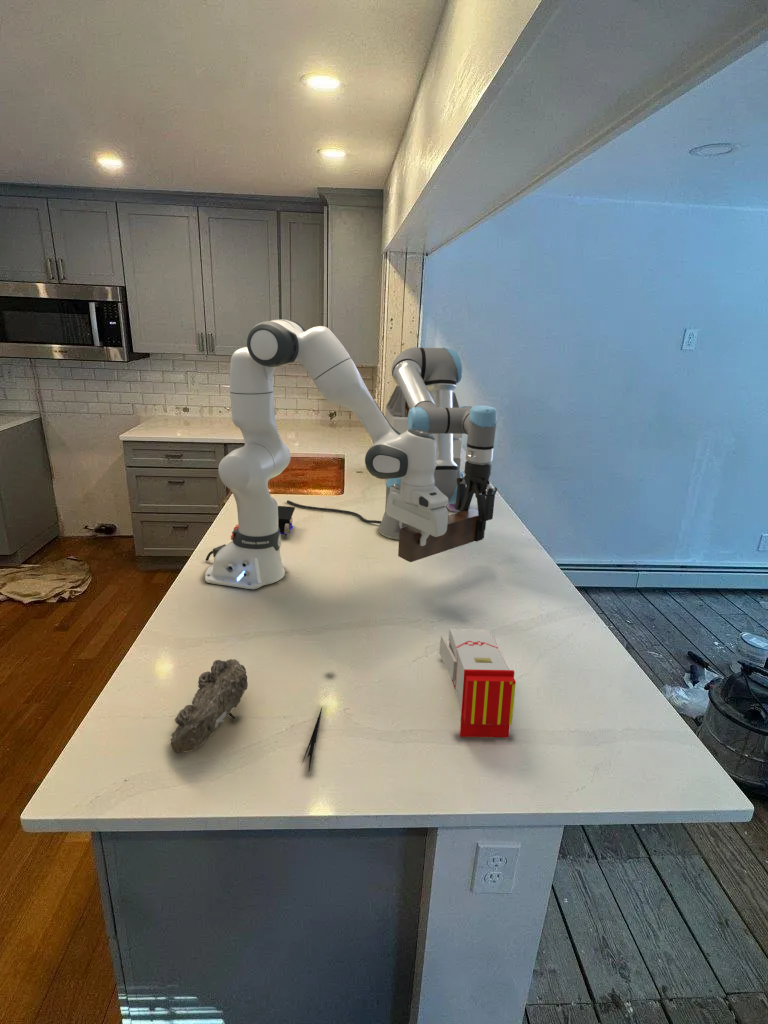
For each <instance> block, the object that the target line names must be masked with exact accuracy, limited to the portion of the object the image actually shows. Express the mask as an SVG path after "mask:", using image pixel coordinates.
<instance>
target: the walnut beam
mask: <svg viewBox="0 0 768 1024" xmlns="http://www.w3.org/2000/svg"><path fill="white" fill-rule="evenodd" d="M478 519H479V515H478V508H474V507H473V508H469V509H468V510H466V511H463V512H460V511H458V512H455V513H452V514H448V523H447V531H446V533H445V534H444V535H441V536H438V537H434V536H432V535H429V536H428V538H427V539H426V545H424V546H421V545H419V544H418V538H421V536H422V534H421V530H419V529H416V528H414V527H412V526H408V527H404V528H401V529H400V531H399V540H398V550H397V551H398V552H397V557H399V558H401V559H403V560H405V561H407V562H409V563H413V562H416V561H419V560H422V559H425V558H428V557H431V556H434V555H438V554H440V553H444V552H446V551H450V550H452V549H456V548H458V547H462V546H465V545H467V544H470V543H474V542H475V541H474V540H475V531H476V521H477V520H478ZM485 532H486V530H485V531H483V539H485Z"/></svg>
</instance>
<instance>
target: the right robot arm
mask: <svg viewBox="0 0 768 1024" xmlns="http://www.w3.org/2000/svg"><path fill="white" fill-rule="evenodd" d="M462 374H463V363H462V358H461V355H460V354H459V352H458V351H457V350H456V349H455V348H448V347H447V348H446V347H418V346H417V347H416V346H414V347H409V348H406V349H405V350H403V351H401V352H400V353H399V354H397V356H396V357H395V359H394V360H393V363H392V365H391V377H392V379H393V381H394V383H395V384H396V386H397V385H399V386H400V388H401V390H402V392H403V394H404V397H405V399H406V401H407V404H408V406H409V408H410V410H409V412H408V419H407V422H408V428H409V429H420V430H424V431H427V432H429V433H430V434H432V435H433V436H434V437H435V440H436V444H437V461H436V468H435V471H434V479H435V486H436V487H437V488H438V489H439V490H440V491H441V492H442V493H443V494H444V495H445V496H447V497H448V504H454V503H456V505H455V509H456V510H459V511H458V512H463V511H466V510H470V506H471V502H472V500H473V498H474V495H475V499H476V503H477V510H478V515H479V519H478V520H477V521H476V531H475V540H474V542H476V543H477V542H479V541H483V539H484V538H483V531H485V532H486V527H487V521H491V520H493V518H494V508H495V498H496V494H497V491H498V488H497V486H492V485H491V483H490V477H491V475H492V468H493V467H492V466H493V464H492V462H493V459H494V450H495V449H494V448H495V447H494V446H495V439H496V429H497V424H498V419H497V418H498V410H497V409H496V408H495V407H493V406H489V405H473V406H471V405H462V406H459V408H452V392H454V390H456V388H457V384H459V383H460V381H461V380H462ZM453 434H462V435H463V434H464V435H467V439H466V450H465V451H466V453H465V460H466V461H465V462H464V471H462V470H460V471H459V470H458V465H457V464H456V463H455V462H454V461H453ZM462 472H463V473H462ZM394 484H398V485H399V486H401V478H392V479H386V480H385V504H384V505H385V507H384V508H385V509H384V513H383V515H382V519H381V520H375V519H373V520H372V519H366V518H364V517H363V516H362V515H361V514H359V513H357V512H355V511H351V510H345V509H337V508H330V507H329V508H328V507H319V506H318V507H316V506H310V505H303V504H299V503H296V502H293V501H291V500H288V499H287V500H286V503H287V504H290V505H292V506H293V507H298V508H302V509H307V510H314V511H315V510H316V511H324V512H334V513H341V514H348V515H352V516H356V517H358V518H359V519H360V520H361V521H362V522H365V523H367V524H379V527H378V533H379V534H380V535H381V536H382V537H385V538H387V539H389V540H395V541H399V531H400V529H401V528H400V526H399V520H396V519H394V518H392V517H390V516H388V515H387V512H386V506H387V500H388V495H389V493H390V487H391V486H392V485H394ZM408 526H410V525H407V527H408Z"/></svg>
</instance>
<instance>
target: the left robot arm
mask: <svg viewBox="0 0 768 1024" xmlns="http://www.w3.org/2000/svg"><path fill="white" fill-rule="evenodd" d="M292 363H299V364H300V365H301V366H303V367H304V368H305V370H306V371H307V373H308V374H309V376H310V378H311V380H312V381H313V382H314V384H315V386H316V388H317V389H318V391H319V392H320V394H321V395H322V396H323V397H324V398H325V399H326V400H327V401H328V402H329V403H331V404H332V405H335V406H339V407H342V408H344V409H347V410H348V411H350V412H352V413H353V414H354V415H355V416H356V418H357V419H358V420H359V422H360V423H361V425H362V426H363V428H364V429H365V432H367V433H368V435H369V437H370V438H371V440H372V445H371V446H370V448H369V449H368V450H367V451H366V453H365V456H364V465H365V467H366V470H367V471H368V472H369V474H370V475H371V476H373V477H374V478H377V479H381V480H387V479H392V478H401V486H399V485H398V484H394V485H392V486H391V487H390V493H389V495H388V500H387V506H386V512H387V515H388V516H390V517H392V518H394V519H396V520H399V526H400V528H404V527H407V525H410V526H412V527H414V528H416V529H419V530H421V534H422V536H421V538H418V544H419V545H421V546H424V545H426V539H427V538H428V536H429V535H432V536H434V537H438V536H441V535H444V534H445V533H446V531H447V523H448V515H449V512H448V508H447V505H448V497H447V496H445V495H444V494H443V493H442V492H441V491H440V490H439V489H438V488H437V487H436V486H435V479H434V471H435V468H436V461H437V444H436V440H435V437H434V436H433V435H432V434H430V433H429V432H427V431H424V430H420V429H409V430H407V431H406V432H404V433H403V434H401V433H399V432H398V431H397V430H395V429H394V428H393V427H392V426H391V424H390V423H389V422H388V420H387V419H386V417H385V413H383V411H382V409H381V408H380V406H379V405H378V403H377V402H376V401H375V399H374V397H373V396H372V394H371V392H370V391H369V389H368V387H367V385H366V384H365V382H364V380H363V377H362V376H361V373H360V372H359V370H358V368H357V366H356V364H355V362H354V360H353V359H352V357H351V356H350V354H349V352H348V350H347V349H346V348H345V347H344V344H342V342H341V341H340V340H339V339H338V337H337V336H336V335H335V334H334V333H333V332H332V330H331V329H330V328H328V327H327V326H324V325H315V326H313V327H310V328H309V329H307V330H306V329H305V327H304V326H303V325H301V324H300V323H299V322H297V321H295V320H291V319H282V318H281V319H280V318H276V319H275V318H274V319H271V320H265V321H261V322H259V323H257V324H256V325H254V326H253V327H252V328H251V329H250V331H249V333H248V335H247V339H246V346H243V347H241V348H238V349H236V350H235V351H234V352H233V353H232V355H231V357H230V365H229V397H230V398H229V399H230V411H231V420H232V422H233V424H234V426H236V427H237V428H239V430H240V432H241V434H242V437H243V440H244V446H240V447H238V448H235V449H233V450H231V451H230V452H229V453H228V454H226V455H225V456H224V457H223V458H221V459H220V462H219V464H218V470H217V471H218V476H219V479H220V481H221V483H222V484H223V485H224V486H225V487H226V488H227V489H229V490H230V491H231V492H232V495H233V497H234V500H235V503H236V510H237V523H238V524H236V525H235V526H234V527H233V530H232V532H231V535H230V540H231V541H230V542H229V543H227V544H224V543H223V544H222V545H218V546H217V547H214V548H212V550H211V551H209V553H208V554H206V555H207V556H206V557H205V562H209V559H210V558H211V556H212V557H213V561H212V564H210V566H209V567H208V568H207V570H206V572H205V573H204V580H205V582H206V583H207V584H208V583H209V584H214V585H220V586H228V587H233V588H234V587H235V588H241V589H248V590H256V589H259V588H261V587H263V586H267V585H272V584H275V583H276V582H279V581H281V580H283V578H284V577H285V575H286V571H285V568H284V565H283V560H282V556H281V545H282V541H281V539H282V537H281V534H280V528H279V527H278V506H279V504H278V501H277V500H276V499H275V498H273V497H272V495H271V492H270V489H269V481H270V480H271V479H274V478H275V477H278V476H279V475H281V474H282V473H283V472H284V471H285V470H286V468H287V467H288V466H289V464H290V462H291V459H292V457H291V456H292V455H291V451H290V448H289V447H288V445H287V444H286V442H285V441H283V440H282V438H281V435H280V432H279V429H278V426H277V421H276V413H275V412H276V411H275V397H274V383H273V382H274V381H273V380H274V379H273V378H274V372H275V370H276V368H278V367H285V366H288V365H290V364H292Z"/></svg>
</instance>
